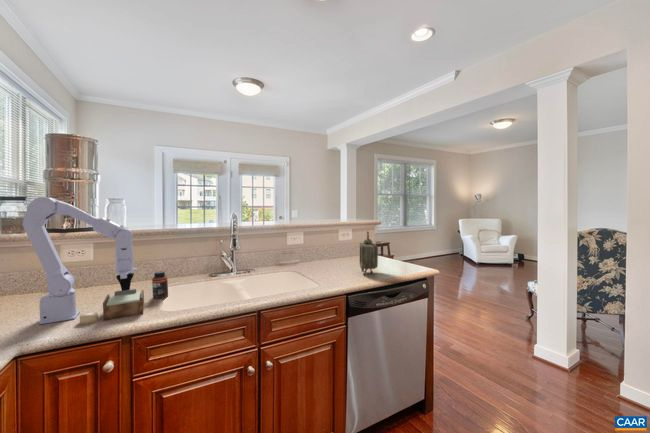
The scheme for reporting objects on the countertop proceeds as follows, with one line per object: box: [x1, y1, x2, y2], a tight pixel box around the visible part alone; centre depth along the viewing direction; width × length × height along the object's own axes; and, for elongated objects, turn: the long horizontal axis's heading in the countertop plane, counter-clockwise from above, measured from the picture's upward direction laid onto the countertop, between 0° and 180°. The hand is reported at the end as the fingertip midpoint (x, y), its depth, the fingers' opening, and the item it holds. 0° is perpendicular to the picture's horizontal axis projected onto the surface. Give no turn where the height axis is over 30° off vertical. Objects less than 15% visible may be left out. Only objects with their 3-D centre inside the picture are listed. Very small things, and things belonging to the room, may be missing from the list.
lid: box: [107, 288, 142, 306], centre depth 111 cm, size 10×11×2 cm
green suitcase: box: [359, 230, 379, 277], centre depth 169 cm, size 14×9×25 cm, turn 178°
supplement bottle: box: [151, 270, 169, 300], centre depth 128 cm, size 6×6×11 cm
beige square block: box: [79, 311, 99, 326], centre depth 102 cm, size 5×5×3 cm
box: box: [102, 289, 145, 321], centre depth 111 cm, size 12×11×6 cm
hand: (125, 292), depth 116 cm, fingers closed
